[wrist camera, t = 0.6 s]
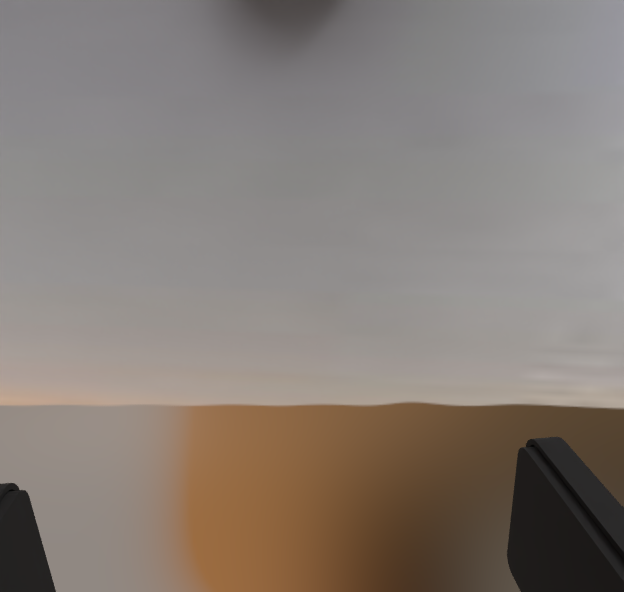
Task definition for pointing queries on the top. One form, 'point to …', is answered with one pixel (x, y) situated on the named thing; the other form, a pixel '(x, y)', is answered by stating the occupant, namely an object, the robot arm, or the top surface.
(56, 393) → the top surface
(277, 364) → the top surface
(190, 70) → the top surface
